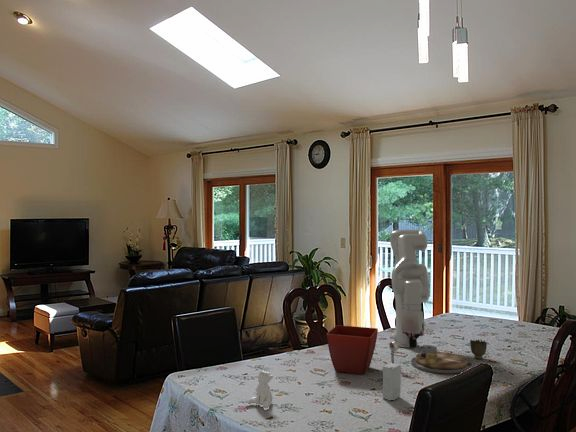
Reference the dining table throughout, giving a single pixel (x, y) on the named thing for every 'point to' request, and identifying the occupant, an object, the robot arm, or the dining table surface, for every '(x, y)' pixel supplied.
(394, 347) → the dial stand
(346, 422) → the dining table surface
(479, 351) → the cup
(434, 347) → the cover
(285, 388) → the dining table surface
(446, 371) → the turntable base
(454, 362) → the platter
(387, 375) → the skincare box
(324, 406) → the dining table surface
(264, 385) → the sitting furry creature
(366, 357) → the plant pot
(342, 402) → the dining table surface
